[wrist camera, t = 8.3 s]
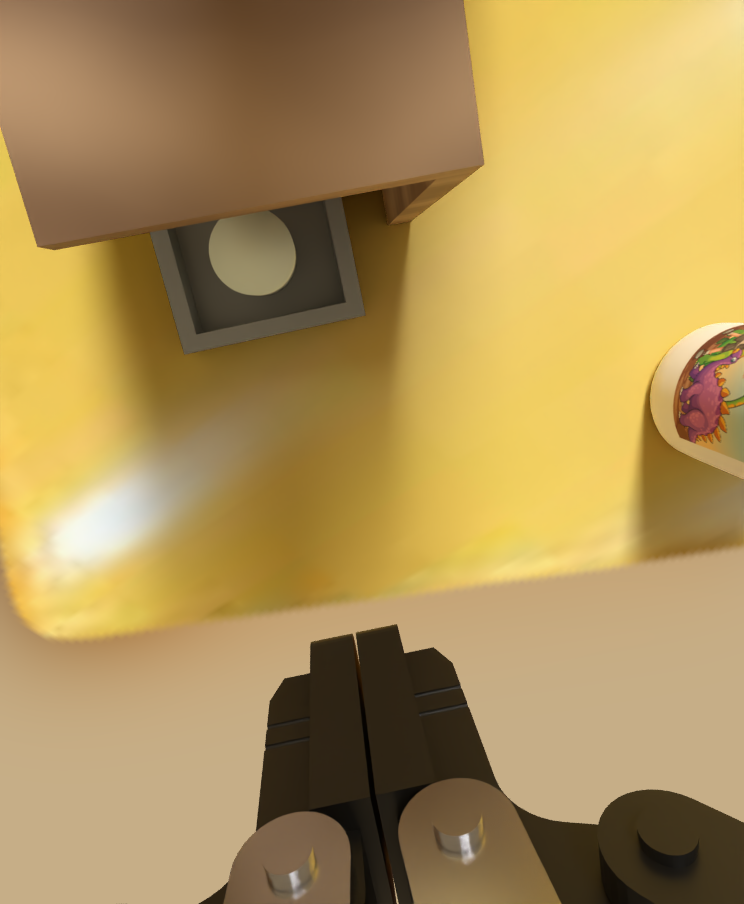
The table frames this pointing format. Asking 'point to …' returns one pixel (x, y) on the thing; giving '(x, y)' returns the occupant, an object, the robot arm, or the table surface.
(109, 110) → the brown wooden cube
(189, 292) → the tray
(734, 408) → the milk bottle
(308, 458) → the table surface
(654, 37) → the table surface
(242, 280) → the cream piece
